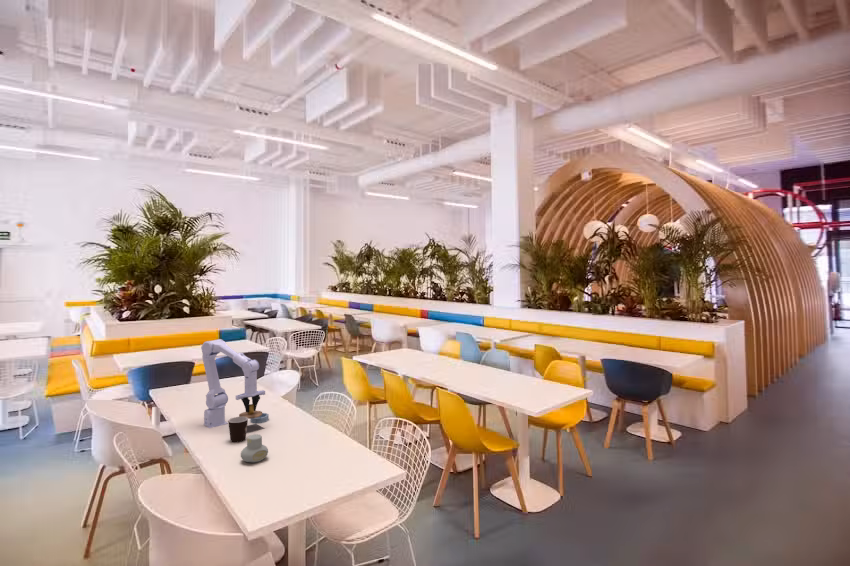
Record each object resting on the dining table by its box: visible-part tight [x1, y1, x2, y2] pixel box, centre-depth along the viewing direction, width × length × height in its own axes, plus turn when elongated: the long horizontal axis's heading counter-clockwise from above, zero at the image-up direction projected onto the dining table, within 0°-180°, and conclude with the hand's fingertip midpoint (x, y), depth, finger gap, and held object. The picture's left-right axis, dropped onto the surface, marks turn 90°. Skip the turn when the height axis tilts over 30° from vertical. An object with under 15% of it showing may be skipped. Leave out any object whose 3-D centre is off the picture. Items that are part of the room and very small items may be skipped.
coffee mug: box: [227, 416, 249, 443], centre depth 210 cm, size 12×9×10 cm
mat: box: [246, 423, 265, 434], centre depth 224 cm, size 10×10×1 cm
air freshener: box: [240, 433, 269, 464], centre depth 187 cm, size 11×8×10 cm
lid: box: [238, 403, 263, 420], centre depth 223 cm, size 11×11×5 cm
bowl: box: [249, 412, 270, 424], centre depth 236 cm, size 9×9×3 cm
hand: (250, 411), depth 223 cm, fingers closed on lid, 3 cm apart
